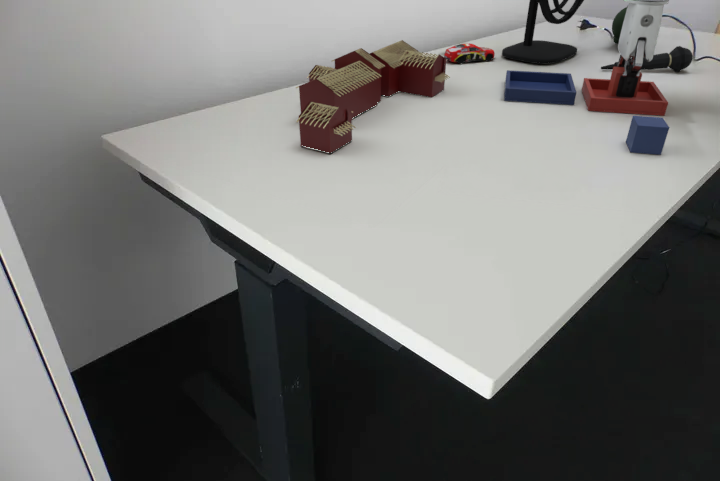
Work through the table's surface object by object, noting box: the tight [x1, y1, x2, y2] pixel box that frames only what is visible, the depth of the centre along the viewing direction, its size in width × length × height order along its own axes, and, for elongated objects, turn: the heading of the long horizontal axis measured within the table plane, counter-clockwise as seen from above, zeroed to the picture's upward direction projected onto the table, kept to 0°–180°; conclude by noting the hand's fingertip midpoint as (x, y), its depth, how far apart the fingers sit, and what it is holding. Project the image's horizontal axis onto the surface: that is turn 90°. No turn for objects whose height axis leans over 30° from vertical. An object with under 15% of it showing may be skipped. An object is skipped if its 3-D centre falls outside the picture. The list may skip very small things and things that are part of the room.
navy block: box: [625, 115, 670, 156], centre depth 88 cm, size 5×5×5 cm
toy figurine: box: [611, 5, 628, 45], centre depth 143 cm, size 9×19×25 cm
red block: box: [608, 67, 643, 98], centre depth 106 cm, size 5×5×5 cm
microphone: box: [600, 45, 694, 73], centre depth 126 cm, size 6×6×20 cm
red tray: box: [581, 77, 669, 117], centre depth 108 cm, size 14×14×3 cm
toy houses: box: [295, 39, 451, 153], centre depth 104 cm, size 45×20×10 cm, turn 148°
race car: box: [443, 42, 496, 64], centre depth 136 cm, size 13×5×4 cm, turn 105°
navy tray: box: [503, 69, 577, 106], centre depth 114 cm, size 14×14×3 cm
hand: (622, 91), depth 107 cm, fingers closed on red block, 4 cm apart
